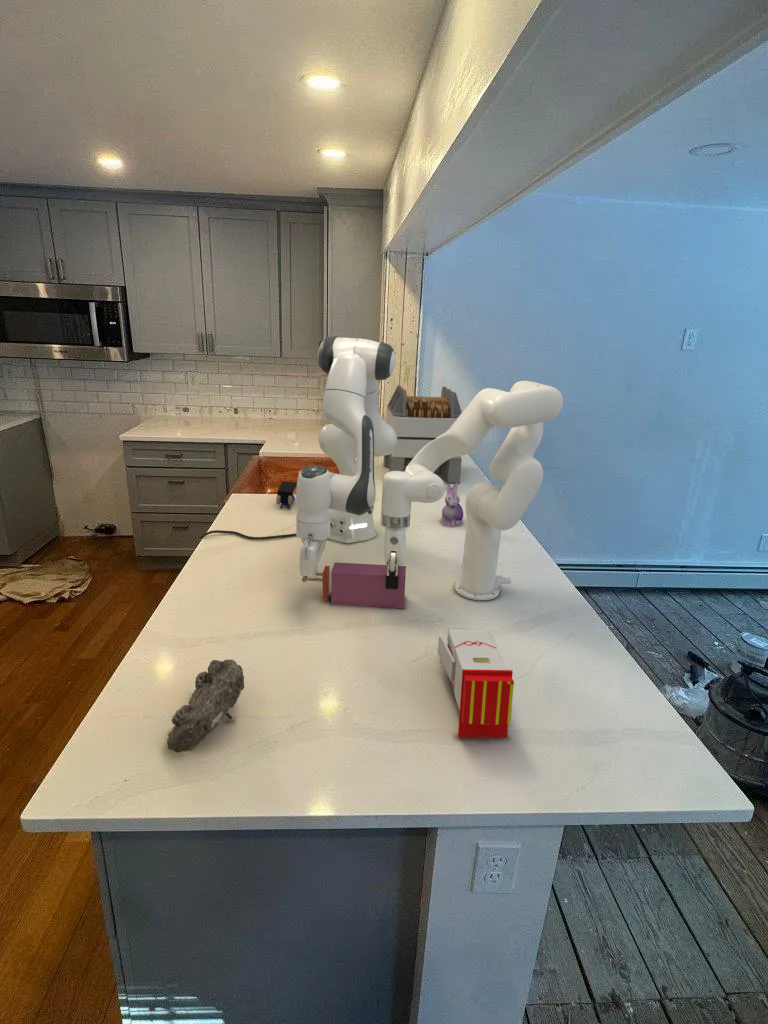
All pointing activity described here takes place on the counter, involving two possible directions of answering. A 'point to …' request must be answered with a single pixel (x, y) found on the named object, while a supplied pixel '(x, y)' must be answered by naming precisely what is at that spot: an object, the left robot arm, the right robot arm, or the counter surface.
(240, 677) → the fossil
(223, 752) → the counter surface
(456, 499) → the figurine
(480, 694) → the toy
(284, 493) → the figurine character
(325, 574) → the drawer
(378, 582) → the cabinet
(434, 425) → the transformer
